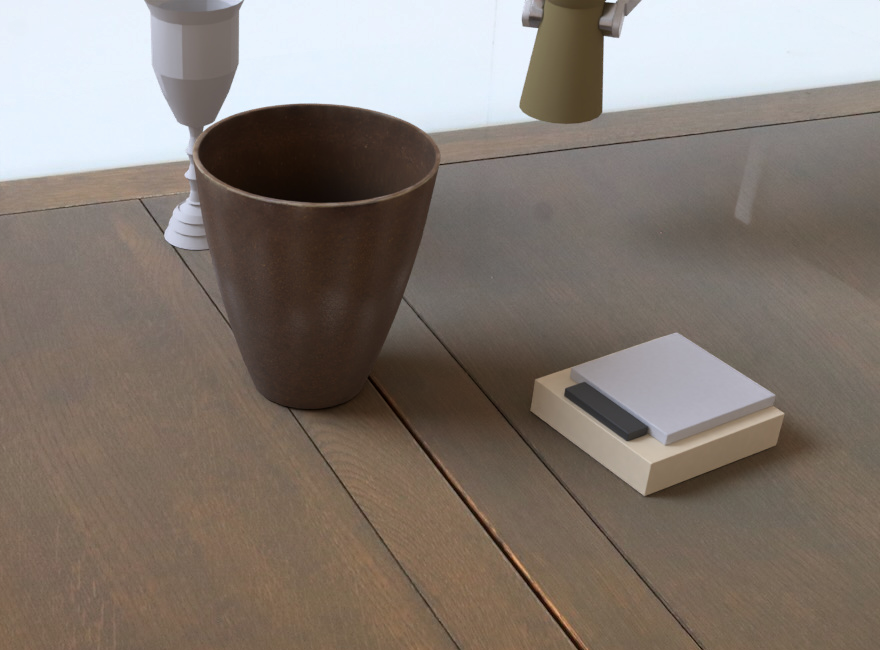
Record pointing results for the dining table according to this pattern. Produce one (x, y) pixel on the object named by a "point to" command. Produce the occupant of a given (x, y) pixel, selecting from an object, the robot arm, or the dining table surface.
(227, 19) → the chalice
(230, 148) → the flower pot
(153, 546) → the dining table surface
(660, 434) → the scale
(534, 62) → the olive pawn
